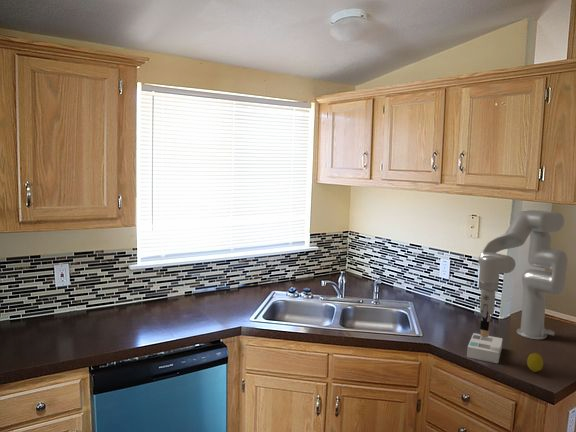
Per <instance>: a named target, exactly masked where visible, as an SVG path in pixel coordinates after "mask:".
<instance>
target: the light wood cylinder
mask: <svg viewBox="0 0 576 432" xmlns="http://www.w3.org/2000/svg"><path fill="white" fill-rule="evenodd" d="M487 317H488V316H487ZM489 326H490V327H491V316H490V317H489ZM479 334H480V335H481V336H483V337H489V336H490V329H489V330H488V331H486V330H481V329H480V333H479Z"/></svg>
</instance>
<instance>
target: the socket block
mask: <svg viewBox="0 0 576 432" xmlns="http://www.w3.org/2000/svg"><path fill="white" fill-rule="evenodd" d="M480 334H481V333H475V332H473V333H472V335H471V338H470V340H469V343H468V345H467V349H466V357H467V358H469V359H473V360H479V361H484V362H487V363H493V364H497V363H498V364H499V363H500V357H501V353H502V349H503V338H501V337H497V336H490V335H489V337H483V336H481V335H480Z"/></svg>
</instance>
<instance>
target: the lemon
mask: <svg viewBox="0 0 576 432" xmlns="http://www.w3.org/2000/svg"><path fill="white" fill-rule="evenodd" d="M526 364H527V367H528V368H529V370H530V371H532V372H533V373H536V372H540V371H541V370H542V369H543V366H544V360H543V357H542V356H541V355H540V354H539V353H537V352H531V353H530V354H529V355H528V357H527V359H526Z"/></svg>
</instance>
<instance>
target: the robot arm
mask: <svg viewBox="0 0 576 432" xmlns="http://www.w3.org/2000/svg"><path fill="white" fill-rule="evenodd" d="M564 224H565V217H564V215H563V214H562V213H560V212H556V211H555V212H554V211H548V210H546V211H545V210H538V209H537V210H536V209H535V210H534V209H531V210H529V209H528V210H523V211H519V212H518V213H517V214H516V215H515V217H514V218H513V220H512V222H511V223H510V225H509V227H508V228H507V230H506V232H505V233H503V234H501V235H499V236H497V237H496V238H494V239H492V240H490V241H489V242H487V244H485V246H484V247H483V249H482V251H481V252H480V255H479V256H478V265H479V273H478V274H479V275H478V276H479V277H478V289H479V290H480V297H479V298H480V302H479V313H480V314H481V318H480V327H479V329H480V331H481V330H486V331H488V330H489V331H490V327H491V325H490V326H489V317H490V318H491V316H493V315H494V313H495V309H496V308H495V306H496V292H498V291H499V282H500V280H499V279H500V274H509V273H512V272H513V271H514V269H515V267H516V261H515V259H514V258H513V257H512V256H511V255H507V254H501V253H498V252H500V251H503V250H508V249H513V248H519V247H521V246H523V245H524V244H525V243H526V240H527V239H528V237H529V247H528V257H527V260H528V263H529V265H530V266H532V267H534V268H535V267H536V268H540V269H531V268H530V269H527V270H525V271H524V272H523V274H522V277H521V282H522V287H523V288H522V290H523V293H522V295H523V296H522V306H521V307H522V308H521V319H520V327H519V328H517V329H516V333H517V334H518V335H519V336H521V337H523V338H527V339H531V340H544V339H546V338H547V336H548V335H549V336H555V331H554V330H552V329H547V328H545V315H546V304H547V302H546V301H547V300H546V296H545V294H544V293H547V294H552V295H561V294H562V293H563V292H564V291H565V290H564V289H565V286H566V280H567V279H566V277H567V270H568V256H567V254H566V253H565V252H564V251H562V250H560V249H556V248H551V245H552V244H551V242H552V237H551V233H555V232H558V231H561V230H562V229H563V228H564ZM541 269H545V270H541ZM546 270H551V272H550V271H546ZM487 316H488V317H487Z"/></svg>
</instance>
